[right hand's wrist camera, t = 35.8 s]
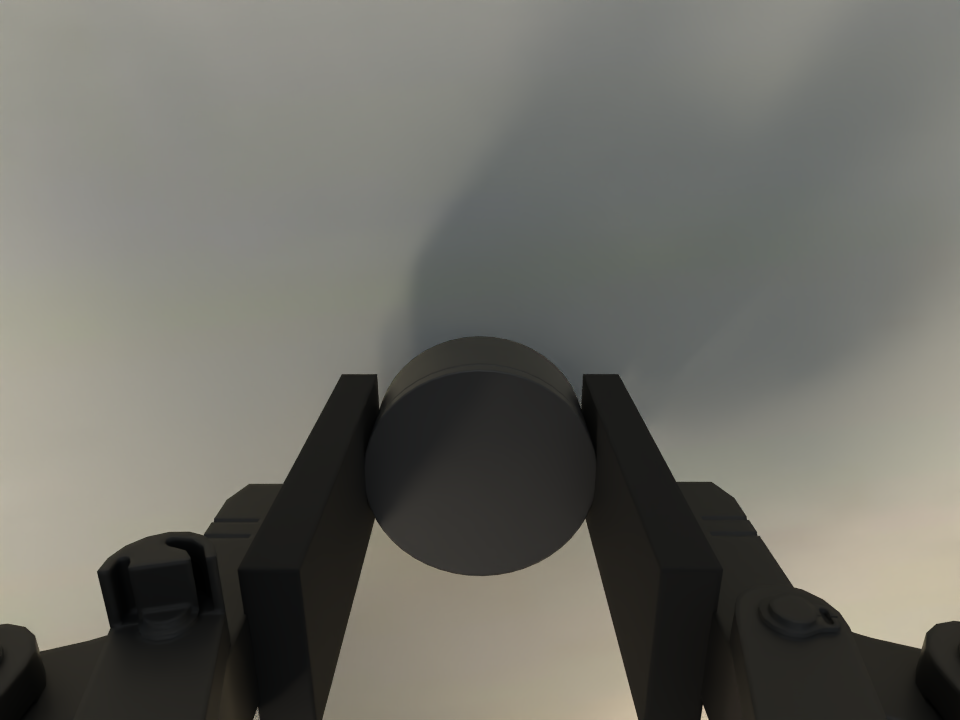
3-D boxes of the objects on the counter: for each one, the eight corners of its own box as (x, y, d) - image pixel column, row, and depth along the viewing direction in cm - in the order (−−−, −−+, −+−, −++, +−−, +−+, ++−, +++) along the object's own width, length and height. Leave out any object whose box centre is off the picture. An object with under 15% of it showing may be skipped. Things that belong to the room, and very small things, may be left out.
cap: (341, 384, 14) (320, 424, 12) (537, 302, 14) (546, 332, 12) (431, 546, 16) (424, 605, 14) (611, 479, 15) (630, 531, 13)
